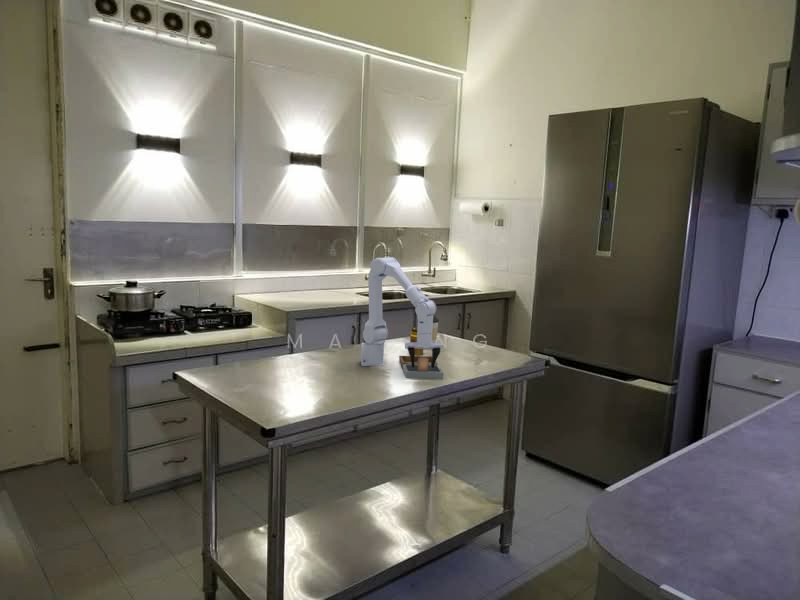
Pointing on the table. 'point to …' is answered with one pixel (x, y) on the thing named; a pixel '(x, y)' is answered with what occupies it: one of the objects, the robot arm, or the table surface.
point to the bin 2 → (431, 374)
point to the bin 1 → (408, 360)
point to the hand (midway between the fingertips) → (422, 367)
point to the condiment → (414, 339)
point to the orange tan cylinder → (422, 365)
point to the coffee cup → (434, 329)
